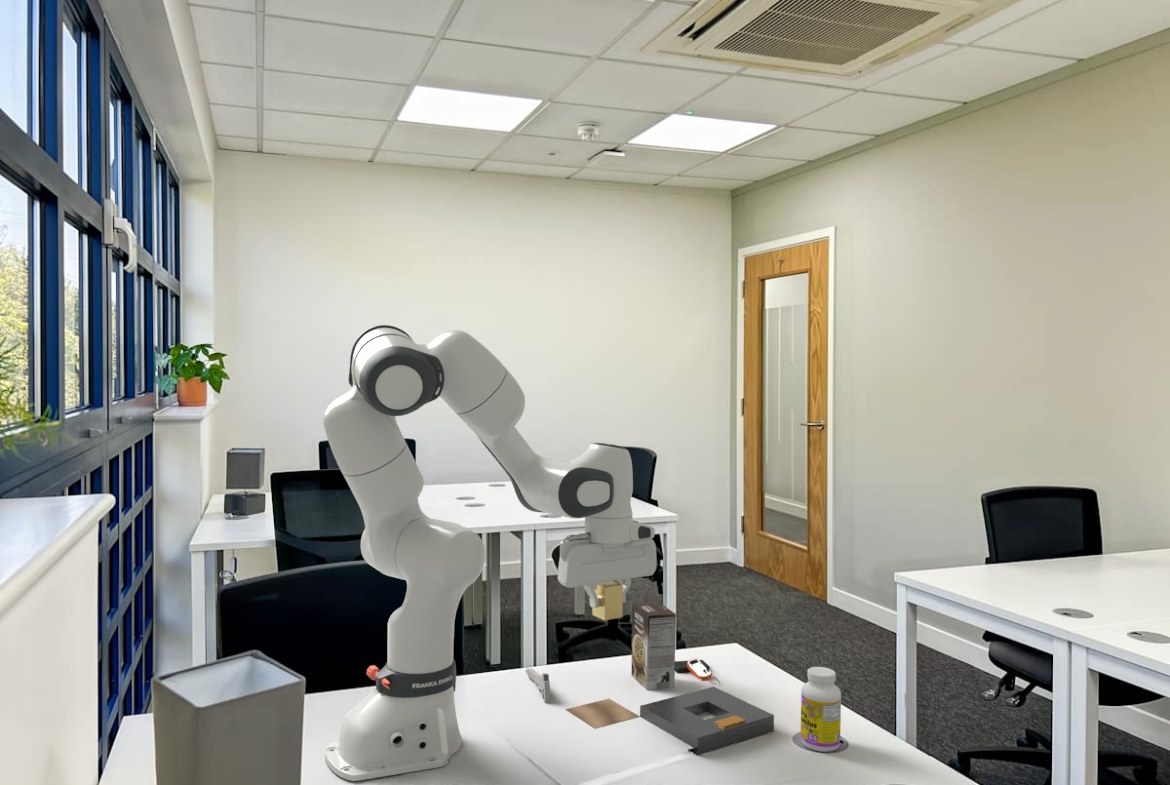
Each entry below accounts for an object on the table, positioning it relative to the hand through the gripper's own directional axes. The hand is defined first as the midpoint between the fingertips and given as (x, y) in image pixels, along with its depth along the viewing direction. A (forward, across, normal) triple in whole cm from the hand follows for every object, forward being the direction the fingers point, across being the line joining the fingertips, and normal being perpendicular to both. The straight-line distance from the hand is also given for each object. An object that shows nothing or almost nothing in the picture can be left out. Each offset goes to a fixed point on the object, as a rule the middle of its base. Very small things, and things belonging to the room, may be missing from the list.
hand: (607, 604), depth 152 cm
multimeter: (+22, +30, +6) cm, 37 cm away
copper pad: (+21, -1, 0) cm, 21 cm away
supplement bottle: (+22, +25, -28) cm, 44 cm away
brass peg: (+2, 0, 0) cm, 2 cm away
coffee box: (+22, +17, +8) cm, 29 cm away
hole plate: (+21, +13, -12) cm, 28 cm away
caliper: (+22, -4, +20) cm, 30 cm away
